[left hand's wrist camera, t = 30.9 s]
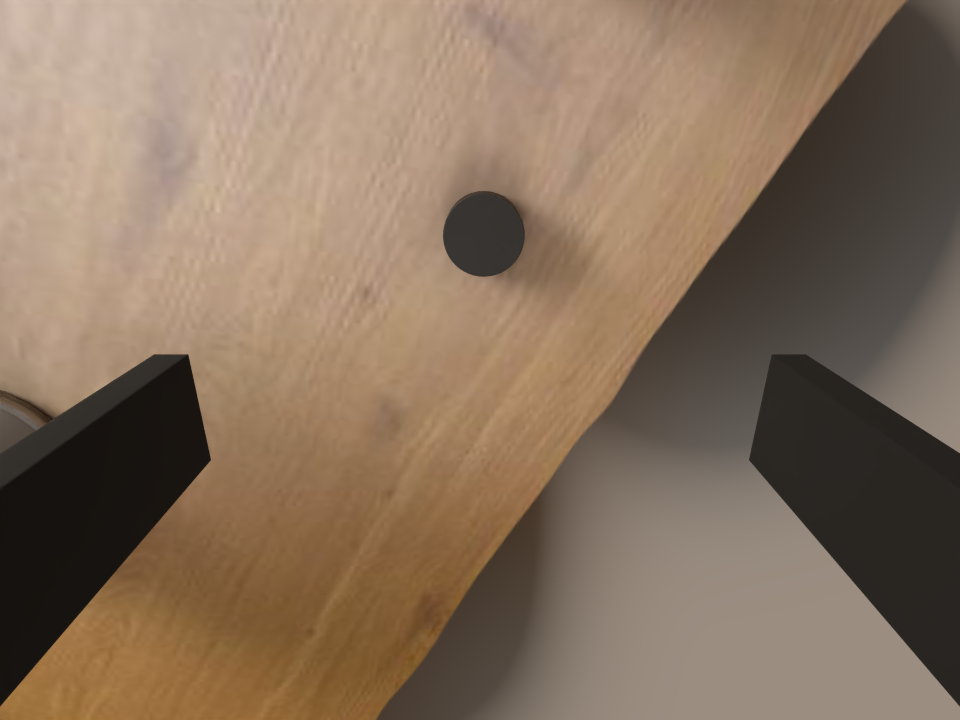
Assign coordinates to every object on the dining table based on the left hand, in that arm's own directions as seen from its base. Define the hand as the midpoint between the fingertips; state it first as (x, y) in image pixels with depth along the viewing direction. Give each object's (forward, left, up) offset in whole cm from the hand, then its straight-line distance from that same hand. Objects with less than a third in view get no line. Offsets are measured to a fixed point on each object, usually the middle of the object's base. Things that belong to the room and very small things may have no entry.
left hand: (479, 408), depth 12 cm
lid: (0, 0, -25) cm, 25 cm away
